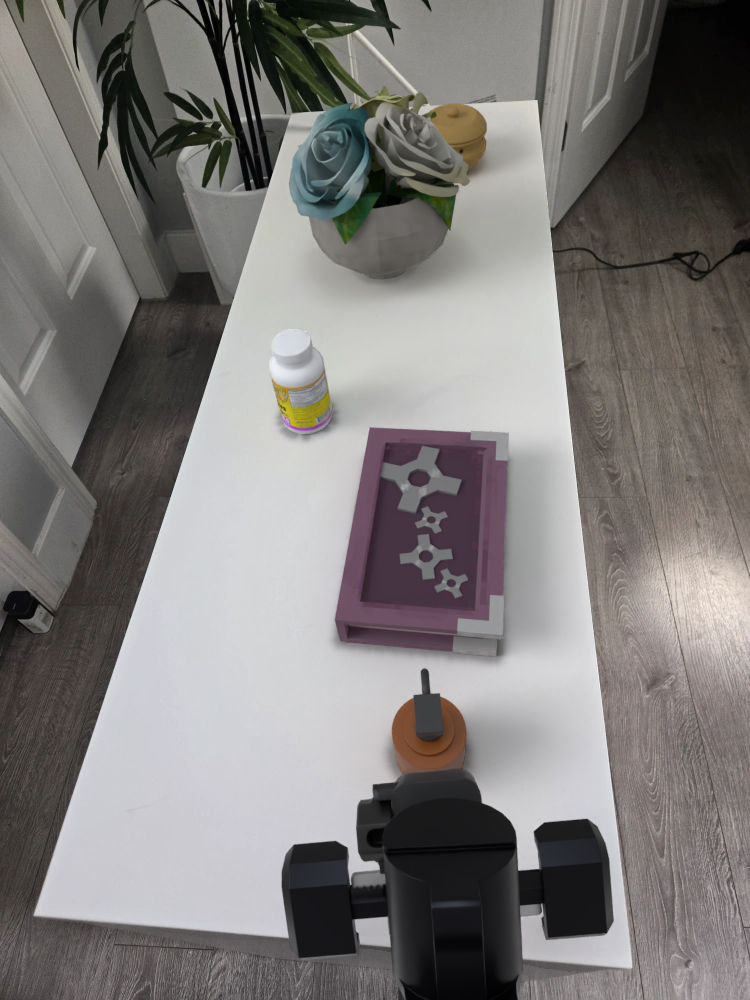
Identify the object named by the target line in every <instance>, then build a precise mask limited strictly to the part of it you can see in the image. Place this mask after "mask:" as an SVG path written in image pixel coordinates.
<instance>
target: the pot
mask: <svg viewBox="0 0 750 1000" xmlns="http://www.w3.org/2000/svg"><path fill="white" fill-rule="evenodd" d="M428 112H436V114H437V116H436V117H435V118H431V122H432V123H433V124H434V125H435V126H436V128H437V129H438V130H439V132H440V133H441V135H442V136H443V137H444V139H445V140H446V142H447V143H448V144H449V145H450V146H451V147H452V148H453V149H454V150H455V151H456V152H457V153H458V154H460V155H462V157H463V161H464V162H466V163H467V164H468V165H469V167H468V170H467V171H469V170H471V169H473V168H474V167H476V165H477V164H478V163H479V162H480V161H481V159H482V157H483V155H484V154H485V152H486V150H487V139H486V136H485V135H486V134H487V132H488V123H487V120H486V118H485V116H484V115H483V114H482V113H481V112H480V111H479V110H478V109H476V108H474V107H473V106H472V105H468V104H464V103H446V104H442V105H439V106H436V107H434V108H433V109H431V110H429V111H428Z"/></svg>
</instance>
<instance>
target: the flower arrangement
mask: <svg viewBox="0 0 750 1000" xmlns="http://www.w3.org/2000/svg"><path fill="white" fill-rule="evenodd" d="M374 92H375V93H377V96H371V97H370V98H369V99H368V100H367V101H365V102H364V101H363V100H362V99H359V101H360V102H361V104H359V105H358V103H357V102H356V103H353V102H348V103H343V104H339V105H336V106H334V107H330V108H329V109H327V110H325V111H323V113H320V114H319V115H317V116H316V118H315V120H314V122H313V125H312V127H311V129H310V131H309V133H308V135H307V137H306V139H305V140H304V141H303V143H301V144H299V145H297V148H298V149H297V150H296V152H295V153H294V155H293V157H292V161H291V169H290V173H289V181H288V186H289V194H290V197H291V199H292V202H293V204H295V206H296V209H297V212H298V214H299V215H300V216H302V217H308V218H309V219H308V220H309V225H310V230H311V233H312V237H313V238H314V240H315V242H316V243H317V245H318V247H319V249H320V250H321V252H323V254H325V256H327V257H328V259H330V261H332V263H334V264H336V265H339V266H341V267H343V268H346V269H349V270H351V271H353V272H357V273H359V274H361V275H364V276H366V277H369V278H372V279H376V280H387V279H392V278H397V277H399V276H401V275H403V274H404V273H406V271H408V270H409V269H411V268H413V267H415V266H417V265H420V264H422V263H423V262H425V261H426V260H428V259H429V258H430V257H431V256H433V254H435V253H436V251H437V250H438V249H439V248H440V247H441V246H443V245H444V242H445V239H446V236H447V235H448V234H447V233H448V231H451V230H452V229H451V228H452V224H453V217H454V211H455V205H456V199H457V194H458V193H459V190H460V185H461V186H462V187H466V186H468V185H470V183H471V179H470V178H469V177H468V174H467V173H468V171H469V170H468V167H469V165H468V164H467V163H466V162H464V161H463V157H462V155H460V154H458V153H457V152H456V151H455V150H454V149H453V148H452V147H451V146H450V145H449V144H448V143H447V142H446V140H445V139H444V137H443V136H442V135H441V133H440V132H439V130H438V129H437V128H436V126H435V125H434V124H433V123H432V122H431V118H435V117H436V116H437V114H436V112H429V111H428V112H426V113H424V114H419V112H420V110H421V108H422V106H423V105H428V104H429V101H428V99H427V97H426V95H425V94H424V93H423V92H421V91H418V92H416V94H415V95H414V94H408V95H406V96H403V95H400V94H395V93H394V94H391V95H390V93H389V90H388V88H387V86H386V85H383V87H382V89H381V90H380V91H379V90H375V91H374ZM410 102H413V105H412V107H411V108H410ZM353 104H354V105H353ZM352 105H353V106H352ZM351 106H352V108H351ZM350 108H351V109H350ZM459 184H460V185H459Z"/></svg>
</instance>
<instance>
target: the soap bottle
mask: <svg viewBox="0 0 750 1000" xmlns="http://www.w3.org/2000/svg"><path fill="white" fill-rule="evenodd" d="M440 699H441V709H442V720H443V730H444V735H443V736H428V737H416V726H415V712H414V699H413V697H412V698H409V700H407V701H405V702H404V703H403V704H402V705H401V706H400V707H399V709H398V710H397V712H396V713H395V715H394V718H393V721H392V725H391V737H392V738H391V739H392V745H393V751H394V755H395V760H396V763H397V766H398V768H399V771H400V772H401V774H402V775H404V774H406V773H415V772H416V773H421V772H432V771H443V770H449V769H463V767H464V766H463V765H464V762H465V756H466V744H467V724H466V721H465V718H464V716H463V714H462V713H461V711H460V709H459V708H458V707H457V706H456V705H455V704H454V703H453V702H451V700H448V699H447V698H445V697H442V696H440Z"/></svg>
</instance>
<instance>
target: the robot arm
mask: <svg viewBox="0 0 750 1000" xmlns="http://www.w3.org/2000/svg"><path fill="white" fill-rule="evenodd" d="M355 820H356V823H355V831H356V843H357V853H358V856H359V857H360V859H361V861H363V863H366V862H367V863H368V862H376V863H377V864H378V866H379V869H376V870H362V871H355V872H352V873H351V875H350V873H349V863H350V862H349V861H350V854H349V847H347V846H346V845H344V844H343V843H341V842H339V841H337V840H328V841H318V842H317V841H316V842H305V843H295V844H292V846H291V847H290V848H289V849H288V851H287V852H286V853H285V855H284V859H283V864H282V868H281V894H282V900H283V907H284V915H285V921H286V928H287V934H288V935H287V936H288V944H289V948H290V950H291V951H292V952H293V953H294V954H295V956H296V957H297V958H298V959H299V960H302V961H308V960H309V961H310V960H322V959H334V958H345V957H346V958H347V957H359V956H360V948H361V947H360V945H361V940H360V933H359V932H357V926H356V920H365V919H366V920H368V919H378V918H379V919H380V918H387V926H388V928H387V929H388V935H389V941H390V942H389V943H390V953H391V956H390V957H391V965H392V966H391V967H392V975H393V977H394V980H395V982H396V985H397V1000H519V997H518V992H519V988H520V984H521V982H522V977H523V973H524V959H523V958H524V957H523V937H522V919H521V918H522V917H535V916H540V915H541V914H542V915H543V916H541V918H540V919H541V920H540V921H541V928H542V932H543V936H544V939H545V941H554V940H566V939H567V940H568V939H579V938H580V939H581V938H589V937H603V936H606V935H607V934H608V932H609V931H610V929H611V928H612V926H613V923H614V922H615V918H614V905H613V903H614V902H613V890H612V889H613V888H612V877H611V865H610V863H611V862H610V855H609V852H608V847H607V843H606V841H605V839H604V837H603V835H602V833H601V831H600V829H599V826H598V825H597V824H595V823H594V822H593V821H592V820H590V819H589V818H576V819H566V820H555V821H544V822H543V823H542V824H540V825H539V826H538V827H536V829H535V830H533V841H534V844H535V847H536V850H537V859H538V868H533V869H519V857H518V855H519V854H518V837H517V832H516V829H515V827H514V825H513V823H512V821H511V820H510V819H509V818H508V817H507V816H506V815H505V814H504V813H503V812H501V811H499V810H498V809H496V808H494V807H493V806H491V805H488V804H486V803H483V798H482V793H481V790H480V787H479V785H478V783H477V780H476V778H475V777H474V775H473V774H472V773H471V772H470V771H468V770H467V769H464V768H461V769H449V770H443V771H432V772H421V773H416V772H415V773H406V774H404V775H403V774H402V775H400V776H398V777H397V779H396V780H395V782H383V783H373V784H372V797H371V798H368V799H360V800H359V801H358V804H357V808H356V819H355Z"/></svg>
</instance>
